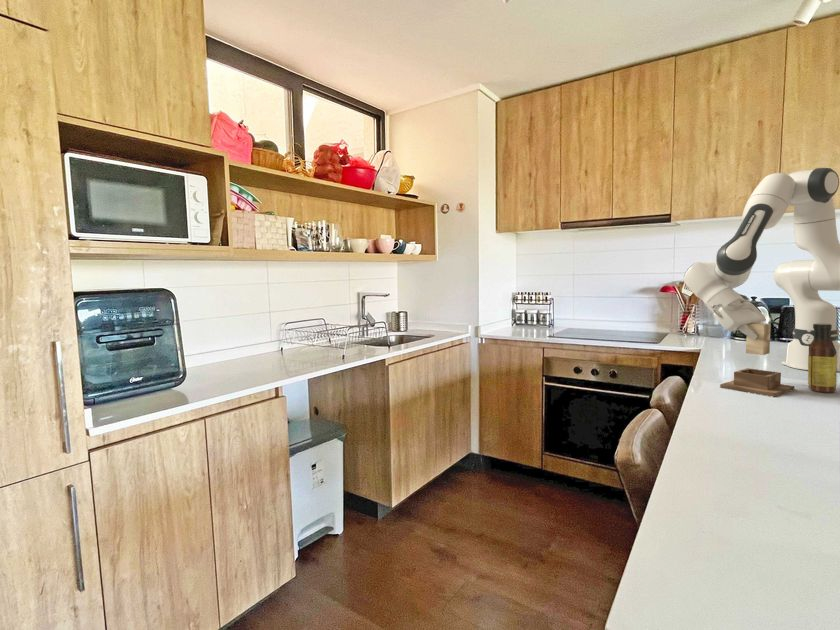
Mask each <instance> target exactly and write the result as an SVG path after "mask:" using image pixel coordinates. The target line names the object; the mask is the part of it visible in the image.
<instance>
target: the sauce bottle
mask: <svg viewBox="0 0 840 630" xmlns="http://www.w3.org/2000/svg"><path fill="white" fill-rule="evenodd" d="M813 329H814V339H813V341H812V343H811V344H810V345H809V355H808V370H807V384H808V386H807V387H808V388H807V389H808V390H810V391H813V392H818V393H827V394H828V393H835V392H836V391H837V389H836V388H837V372H838V371H837V367H836V366H837V352H836V349H835V347H834V345H833V342H832V340H831V329H832V325H831V324H822V323H818V324H813Z"/></svg>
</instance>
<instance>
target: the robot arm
mask: <svg viewBox="0 0 840 630" xmlns="http://www.w3.org/2000/svg"><path fill="white" fill-rule="evenodd" d="M839 186H840V178H839V175H838V173H837V172H836V171H835V170H834V169H833V168H830V167H817V168H814V169H804V170H798V171H793V172H792V173H791V172H790V173H782V172H774V173H770V174H768V175H766V176H764V178H762V180H761V181H760V182H759V183H758V184H757V186H756V187H755V188H754V189H753V192H751V194H750V195H749V198H748V200H746V201H747V202H746V203H745V205H744V208H743V211H742V215H741V220H742V221H741V223H740V225H739V227H738V229H737V231H736V233H735V234H734V236H733V237H731V239H730V240H728V241H727V242H726V243H724V244H723V245H722V246H720V248H719V249H718V251H717V253H716V260H712V261H708V262H707V261H705V262H704V261H703V262H701V261H697V262H694V263H693V264H691V265H690V266H689V267H688V268H687V270H686V271H685V273H684V275H683V282H684V284H685V285H686V286H687V288H688V289H689V290H690V292H692V294H694V295H695V297H697V298H698V299H700V300H701V301H703V304H704V305H705V307H707V308H708V310H709V311H711V313H712V314H713V317H714V318H715V319H716V320H717V322H718V323H719V324H720V325H721V326H722V328H724V330H726V331H727V332H735V331H739V332H740V333H742V334H744V335H745V336H746V337H747V336H749V337H750V338H751V339H752V340H755V339H757V338H758V337H759V335H758V334H757V333H756V332H753V331H752V330H751V329H750V328H749V327H748V326H747V324H751V323H766V321H767V318H766V317H765V315H764V314H763V313H762V312H761V311H760V310H759V308H757V307H756V305H754V304H753V303H752V302H750V301H751V300H750V298H749V297H748V296H747V295H745V294H744V295H743V294H740V293H739V292H737V291H736V290H734V289H735V288H738V287H740V286H741V285H743V284H745V282H746V281H747V280H748V279H749V278H750V277H749V276H750V274H751V271H752V269H753V266H754V264H755V263H756V261H757V257H758V252H757V244H758V242H759V240H760V238H761V236H762V235H763V233H764V230H767V229H772V228H774V227H775V226H777V224H778V223H779V221H780V220H781V219H782V218H783V216H784V215H785V213H786V211H787V210H788V208H789V207H793V218H792V219H793V235H794V244H795V245H796V247H797V248H799V249H800V250H803V251H806V252H808V253H809V254H811V256H812V257H813V259H804V260H794V261H793V260H792V261H788V262H787V261H786V262H784V263H783V262H782V263H780V264H779V265H778V266H777V267H776V268H775V271H774V273H773V280H774V282H775V284H776V285H777V286H778V288H780V289H781V290H783V291H784V292H785V293H786V294H787V295H788V296H789V298H790V300H791V301H792V304H793V307H794V319H795V321H794V323H795V324H794V328H793V331H792V338H793V339H792V340H791V341H790V342H788V344H787V348H786V349H787V350H786V359H785V360H782V361H781V363H780V364H781V365H785V366H787V367H790V368H792V369H797V370H804V371H808V355H809V345H810V344H811V343H812V341H813V339H814V329H813V324H818V323H822V324H831V325H832V329H831V340H832V342H833V345H834V347H835V349H836V352H837V366H836V367H837V371H836V372H840V343H839V341H838V340H839V335H840V330H839V329H837V316H838V311H837V308H836V307H835V306H834V305H833V304H832V303H831V302H829V301H826V300H824V299H822V297H820V294H819V291H821V292H822V291H827V292H828V291H829V292H830V291H835V292H836V291H839V292H840V241H839V238H838V230H837V221H836V219H837V218H836V217H837V216H836V209H835V203H834V200H833V197H834V195H836V193H837V191H838V190H839Z"/></svg>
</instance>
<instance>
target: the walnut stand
mask: <svg viewBox="0 0 840 630" xmlns="http://www.w3.org/2000/svg"><path fill="white" fill-rule="evenodd" d="M781 380H782V373H781V372H777V371H771V370H770V371H769V370H763V369H755V368H748V367H747V368H743V369H740V370H739V369H738V370H736V371H733V380H731V381H727V382H724V383H720V384H719V388H721V389H725V390H731V389H732V391H738V392H744V393H748V392H750V393H749V394H754V393H756V394H755V395H760V394H762V395H761V396H765V395H768V396H767V397H771V396H773V397H772V398H775V397H778V396H780V394H781V395H783V393H784V394H785V392H786V393H789V392H791V391H790V390H792V391H794V390H795V389H796V388H795V385H790V384H782V383H781V382H782V381H781ZM793 389H794V390H793ZM788 391H789V392H788ZM777 395H778V396H777Z"/></svg>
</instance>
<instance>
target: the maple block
mask: <svg viewBox="0 0 840 630" xmlns="http://www.w3.org/2000/svg"><path fill="white" fill-rule="evenodd" d="M747 326H748V327H749V328H750V329H751V330H752V331H753V332H756V333H757V334H758V335H759V337H758V338H757V339H755V340H752V339H751V338H750V337H749V336H747V335H746V341H745V342H746V344H745V345H746V346H745V353H746V354H750V355H759V356H765V355H769V354H770V353H771V352H770V350H771V349H770V348H771V323H766V322H764V323H751V324H747Z"/></svg>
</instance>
